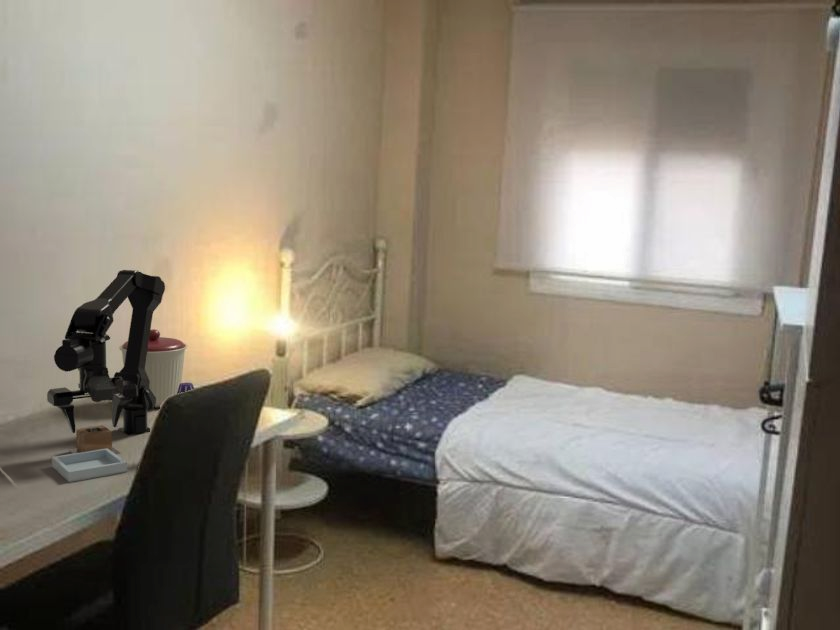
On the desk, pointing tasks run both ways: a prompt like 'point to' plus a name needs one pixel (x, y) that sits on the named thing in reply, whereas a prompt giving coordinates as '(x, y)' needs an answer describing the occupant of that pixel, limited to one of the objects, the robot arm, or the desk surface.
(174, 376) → the canister
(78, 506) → the desk surface
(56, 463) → the tray
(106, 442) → the wooden block with hole
